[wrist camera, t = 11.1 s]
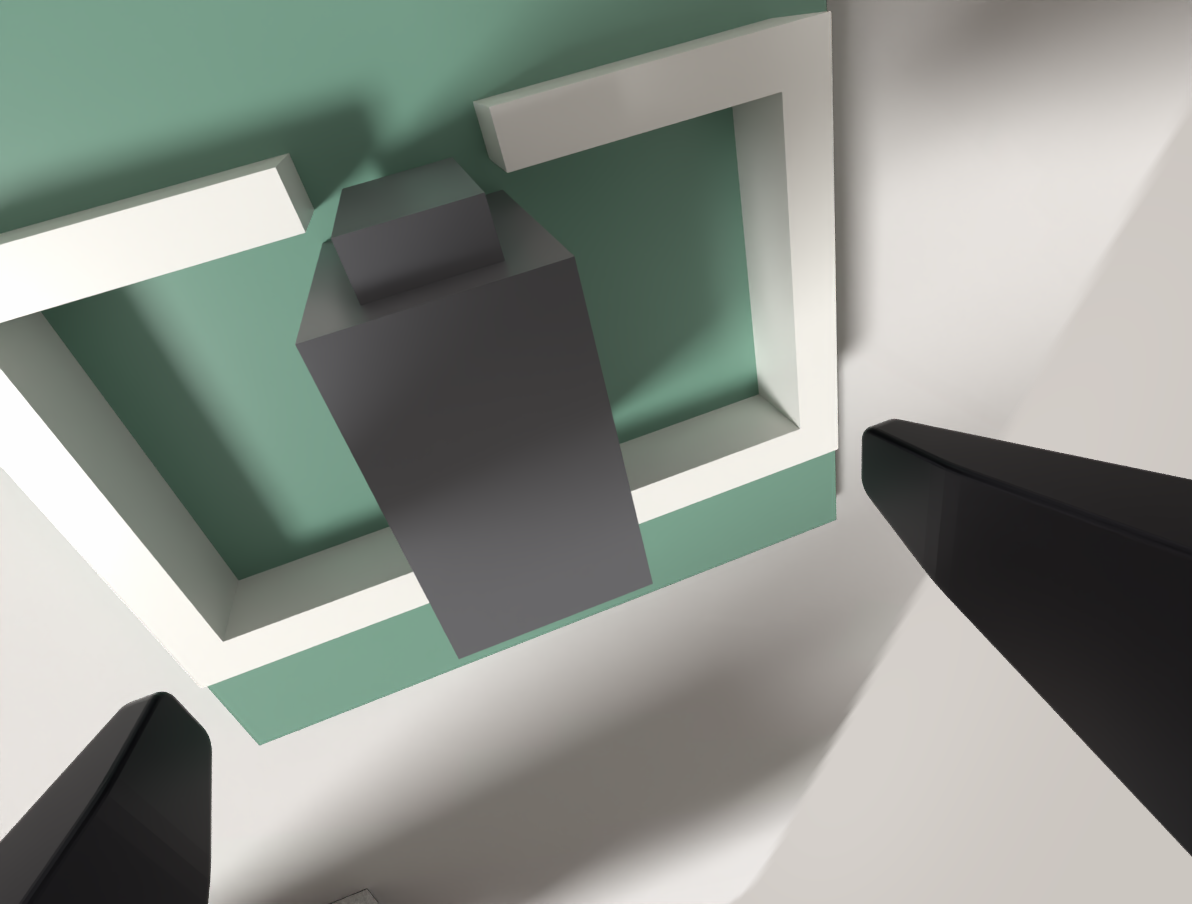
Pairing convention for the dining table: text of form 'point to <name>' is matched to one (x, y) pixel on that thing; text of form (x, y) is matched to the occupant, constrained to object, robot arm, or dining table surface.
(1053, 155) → the dining table surface
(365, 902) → the spiral staircase model
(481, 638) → the plug
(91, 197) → the board
